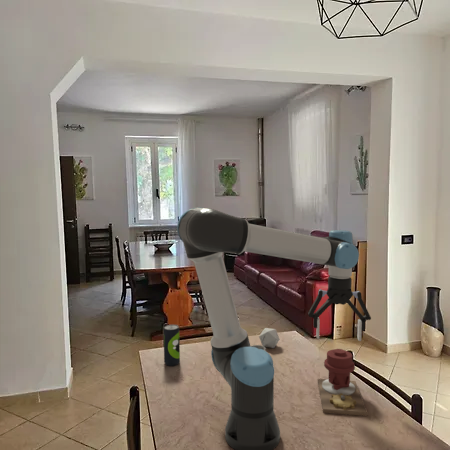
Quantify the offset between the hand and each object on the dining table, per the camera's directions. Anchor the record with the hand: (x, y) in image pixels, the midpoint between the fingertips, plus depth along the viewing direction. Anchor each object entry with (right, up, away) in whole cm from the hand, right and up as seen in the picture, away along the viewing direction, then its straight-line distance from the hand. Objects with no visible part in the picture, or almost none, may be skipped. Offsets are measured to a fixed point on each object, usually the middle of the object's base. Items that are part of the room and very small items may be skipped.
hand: (338, 338), depth 130 cm
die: (-19, -16, +41) cm, 48 cm away
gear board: (0, -19, -3) cm, 19 cm away
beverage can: (-60, -17, +24) cm, 67 cm away
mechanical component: (+1, -17, +1) cm, 17 cm away
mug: (-26, -17, +24) cm, 40 cm away
